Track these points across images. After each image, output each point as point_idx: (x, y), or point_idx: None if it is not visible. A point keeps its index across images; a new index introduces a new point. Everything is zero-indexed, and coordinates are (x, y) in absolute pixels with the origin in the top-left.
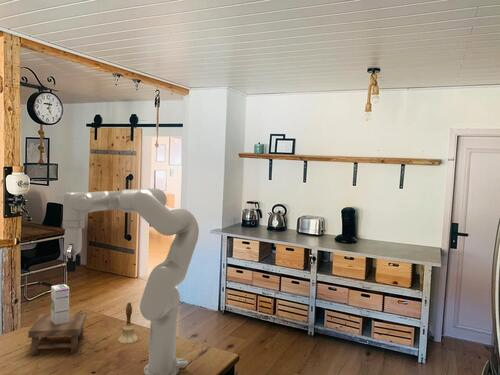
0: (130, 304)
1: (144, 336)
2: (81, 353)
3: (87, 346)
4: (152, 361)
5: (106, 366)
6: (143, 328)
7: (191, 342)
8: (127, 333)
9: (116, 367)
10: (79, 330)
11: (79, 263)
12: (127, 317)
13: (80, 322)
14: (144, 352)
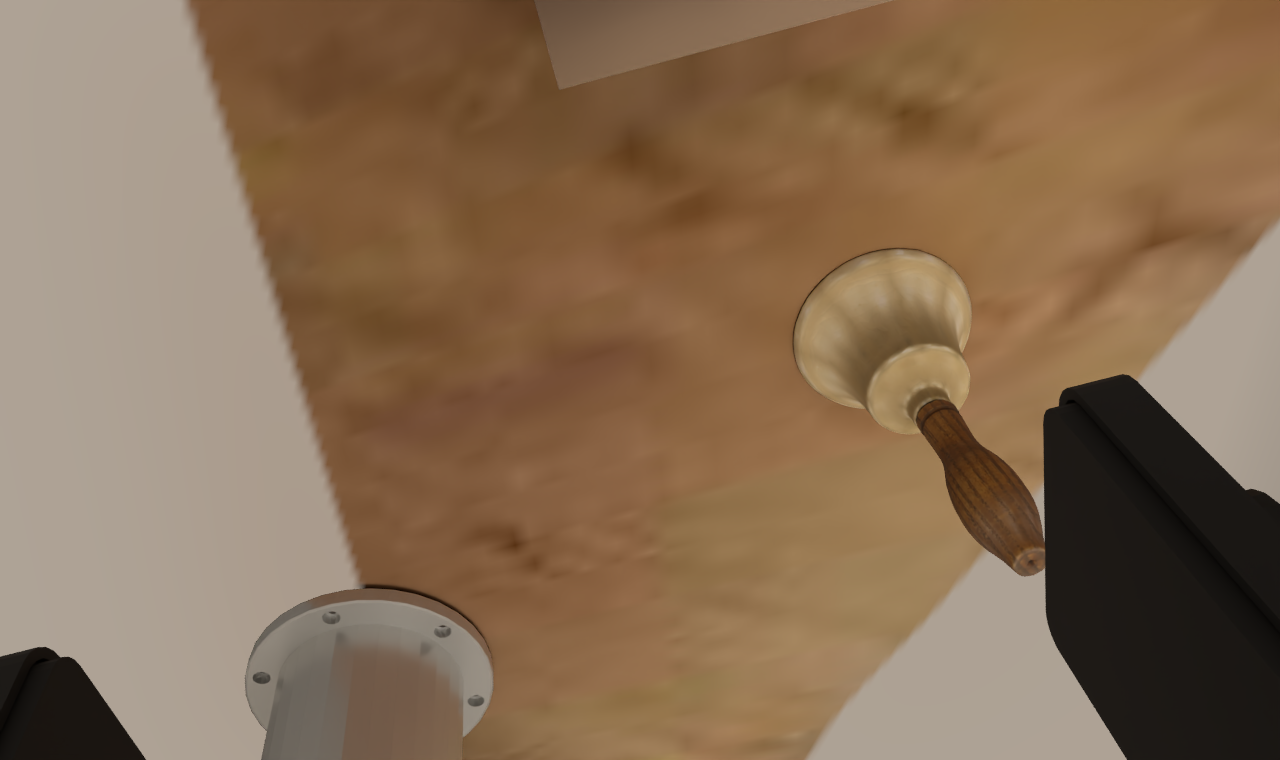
0: (1012, 568)
1: None
2: None
3: None
4: (273, 728)
5: (356, 334)
6: None
7: (821, 725)
8: (854, 381)
9: (357, 408)
10: (557, 82)
11: (1084, 675)
12: (945, 452)
13: (778, 6)
14: (639, 511)
